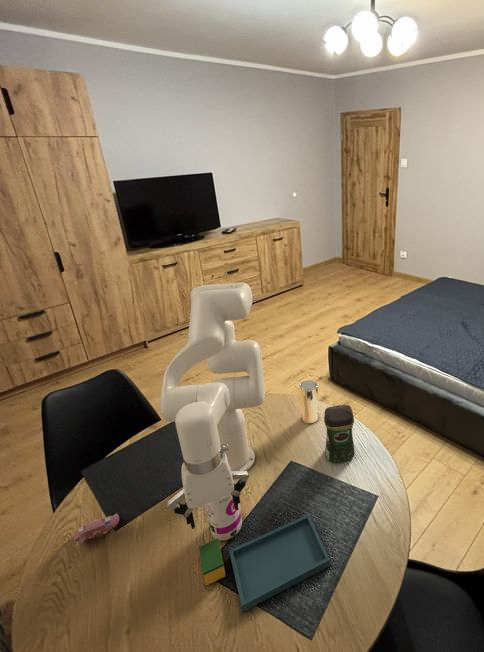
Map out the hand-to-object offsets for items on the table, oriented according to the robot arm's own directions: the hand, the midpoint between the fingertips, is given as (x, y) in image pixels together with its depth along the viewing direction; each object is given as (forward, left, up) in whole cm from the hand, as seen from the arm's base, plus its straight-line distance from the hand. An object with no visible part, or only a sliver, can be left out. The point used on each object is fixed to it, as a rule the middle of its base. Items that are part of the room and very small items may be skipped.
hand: (214, 514), depth 84 cm
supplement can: (-9, +2, -18) cm, 20 cm away
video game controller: (-23, -29, -18) cm, 41 cm away
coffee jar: (-18, +41, -18) cm, 49 cm away
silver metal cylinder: (-39, +39, -18) cm, 59 cm away
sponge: (0, -3, -18) cm, 18 cm away
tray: (+6, +12, -18) cm, 22 cm away
